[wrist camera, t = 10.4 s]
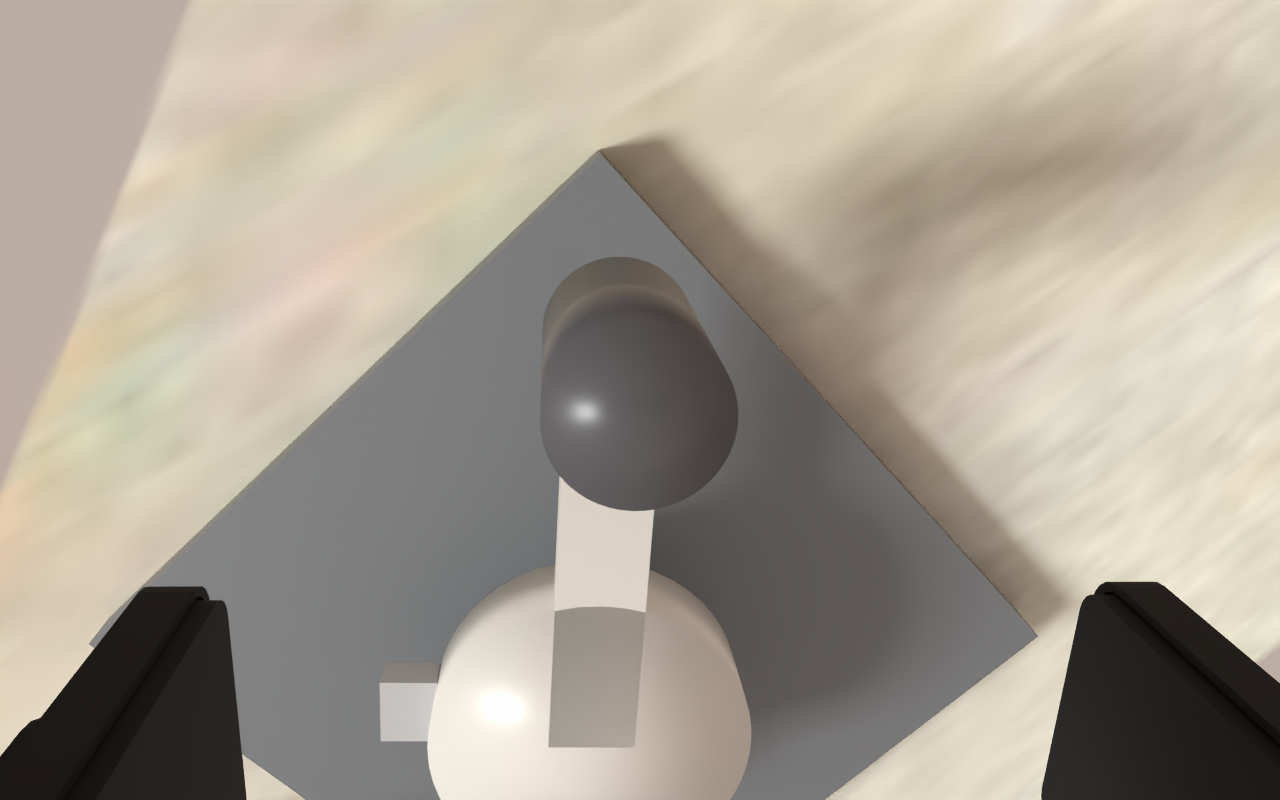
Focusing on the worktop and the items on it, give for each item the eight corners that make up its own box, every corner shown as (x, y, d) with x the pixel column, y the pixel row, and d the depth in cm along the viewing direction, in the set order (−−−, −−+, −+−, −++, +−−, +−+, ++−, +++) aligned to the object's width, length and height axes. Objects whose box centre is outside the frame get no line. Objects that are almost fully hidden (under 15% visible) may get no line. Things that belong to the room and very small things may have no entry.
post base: (573, 957, 39) (575, 1054, 35) (108, 618, 32) (50, 693, 29) (1018, 612, 35) (1074, 680, 32) (598, 149, 29) (605, 164, 25)
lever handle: (716, 848, 32) (770, 1111, 24) (388, 851, 31) (332, 1128, 23) (788, 246, 26) (896, 336, 18) (376, 223, 25) (293, 309, 17)
